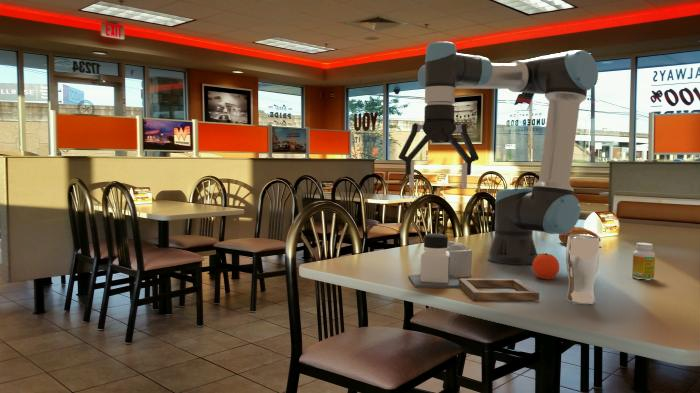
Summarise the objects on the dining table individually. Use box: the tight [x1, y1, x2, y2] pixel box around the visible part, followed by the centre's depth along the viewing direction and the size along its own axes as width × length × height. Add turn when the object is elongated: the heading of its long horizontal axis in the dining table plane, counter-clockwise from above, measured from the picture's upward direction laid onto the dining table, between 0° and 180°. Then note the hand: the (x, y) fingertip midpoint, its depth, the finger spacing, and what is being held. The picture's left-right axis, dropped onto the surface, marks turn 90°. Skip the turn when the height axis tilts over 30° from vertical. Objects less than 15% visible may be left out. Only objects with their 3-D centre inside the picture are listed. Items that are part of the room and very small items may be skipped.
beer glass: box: [565, 235, 600, 305], centre depth 130 cm, size 7×7×15 cm
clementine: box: [531, 252, 560, 280], centre depth 155 cm, size 8×7×7 cm
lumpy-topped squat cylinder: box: [447, 240, 473, 278], centre depth 160 cm, size 10×13×9 cm
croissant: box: [558, 226, 601, 246], centre depth 219 cm, size 14×16×8 cm
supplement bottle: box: [631, 242, 656, 280], centre depth 157 cm, size 5×5×10 cm
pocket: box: [458, 278, 540, 301], centre depth 138 cm, size 15×15×2 cm
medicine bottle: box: [420, 233, 450, 283], centre depth 148 cm, size 7×7×12 cm
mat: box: [408, 274, 462, 289], centre depth 148 cm, size 12×12×1 cm
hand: (437, 188), depth 147 cm, fingers open, 13 cm apart
